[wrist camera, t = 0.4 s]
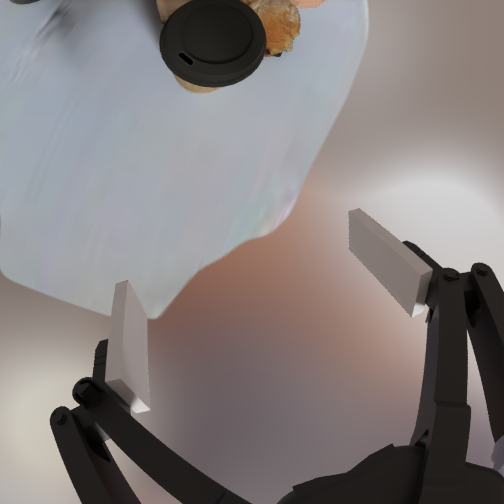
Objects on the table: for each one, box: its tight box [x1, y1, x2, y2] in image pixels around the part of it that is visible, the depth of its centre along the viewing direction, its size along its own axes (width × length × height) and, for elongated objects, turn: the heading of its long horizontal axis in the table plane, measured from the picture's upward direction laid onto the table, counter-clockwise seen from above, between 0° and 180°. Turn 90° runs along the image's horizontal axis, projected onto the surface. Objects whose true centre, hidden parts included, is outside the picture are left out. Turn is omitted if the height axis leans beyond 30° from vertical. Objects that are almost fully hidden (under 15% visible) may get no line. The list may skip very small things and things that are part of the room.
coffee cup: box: [159, 0, 267, 94], centre depth 28 cm, size 10×10×15 cm
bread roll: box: [240, 0, 300, 57], centre depth 32 cm, size 10×10×8 cm
